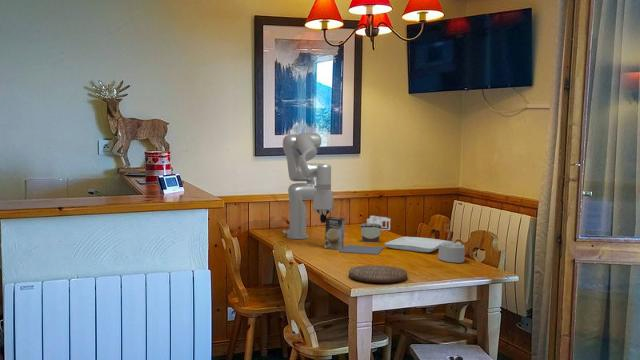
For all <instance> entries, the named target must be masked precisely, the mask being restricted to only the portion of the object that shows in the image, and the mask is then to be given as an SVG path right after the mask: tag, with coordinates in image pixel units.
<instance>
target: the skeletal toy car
mask: <svg viewBox="0 0 640 360" xmlns="http://www.w3.org/2000/svg"><path fill="white" fill-rule="evenodd" d="M391 220H392V219H391V218H389V217H387V216H377V215H370V216H369V218H366V224H368V223H371V224H380V225H381V226H382V229H381V231H390V230H391ZM383 222H385V226H383ZM387 225H388V226H387Z"/></svg>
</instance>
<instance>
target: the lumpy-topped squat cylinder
mask: <svg viewBox="0 0 640 360" xmlns="http://www.w3.org/2000/svg"><path fill="white" fill-rule="evenodd" d="M445 241H446V242H443V243H441V244H439V248H438V260H440V261H443V262H448V263H458V264H459V263H464V262H465V254H466V253H465V251H466V247H465V245H464V244H462V242H460V241H456V242H454V241H452V240H445ZM447 241H448V242H447Z"/></svg>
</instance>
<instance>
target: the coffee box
mask: <svg viewBox="0 0 640 360" xmlns="http://www.w3.org/2000/svg"><path fill="white" fill-rule="evenodd" d="M345 228H346V218H344V217H343V218H342V217H335V216H327V217H326V222H325V233H324V234H325V236H324V249H329V250H330V249H331V250H336V251H337V250H338V251H340V250H341V249H343V248H344V247H345V246H344V242H345Z"/></svg>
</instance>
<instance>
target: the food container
mask: <svg viewBox="0 0 640 360" xmlns="http://www.w3.org/2000/svg"><path fill="white" fill-rule="evenodd" d="M359 229H360V231H361V243H364V244H365V243H369V244H380V238H381V232H382V230H381V229H383V228H382V226H381V225H380V224H371V223H368V224H367V223H361V224H360V227H359Z"/></svg>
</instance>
